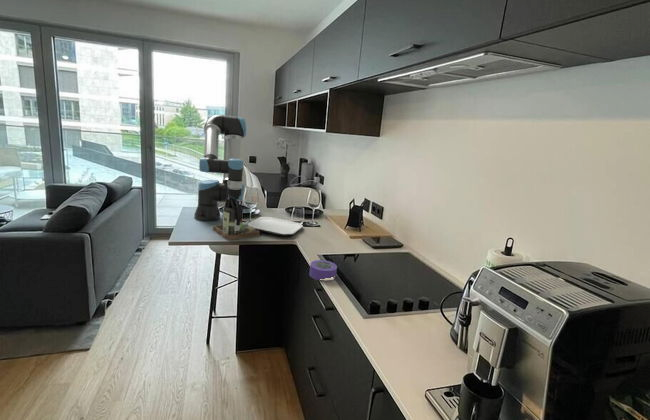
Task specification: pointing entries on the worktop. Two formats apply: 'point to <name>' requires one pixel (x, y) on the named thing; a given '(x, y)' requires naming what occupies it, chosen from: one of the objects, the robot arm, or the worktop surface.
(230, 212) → the coffee can
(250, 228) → the box
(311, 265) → the tape roll
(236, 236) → the brown wooden frame
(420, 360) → the worktop surface
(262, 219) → the plate
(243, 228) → the box
